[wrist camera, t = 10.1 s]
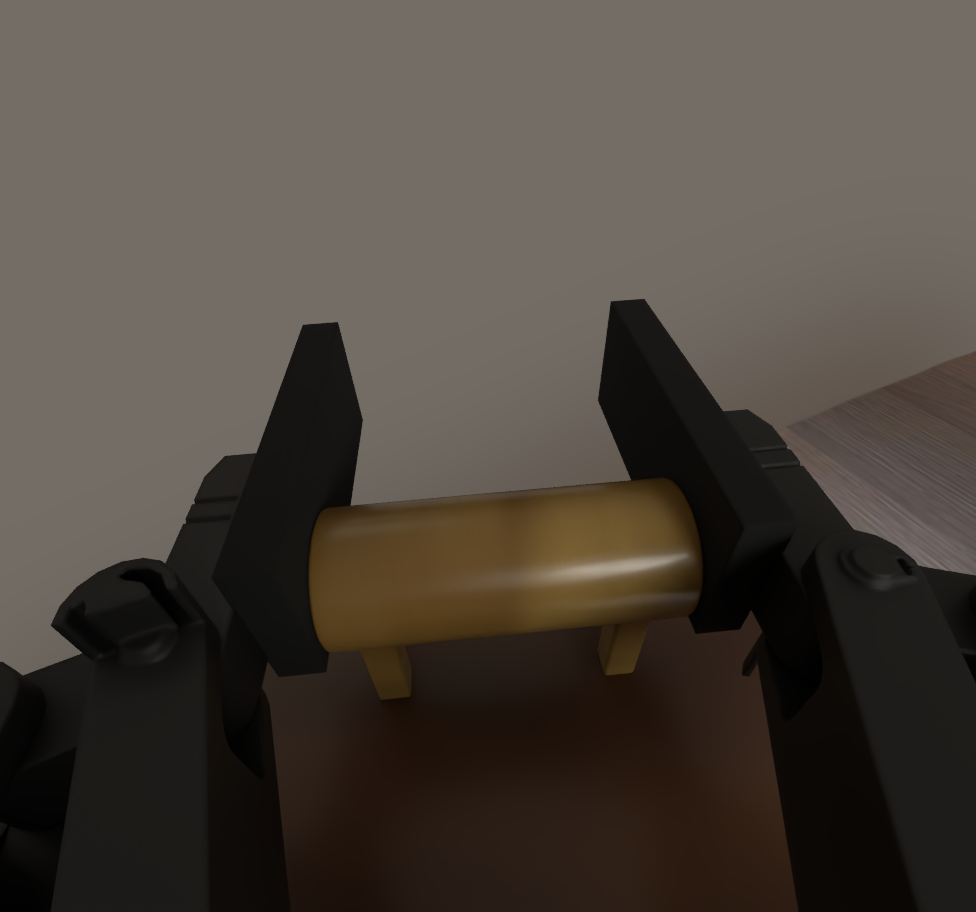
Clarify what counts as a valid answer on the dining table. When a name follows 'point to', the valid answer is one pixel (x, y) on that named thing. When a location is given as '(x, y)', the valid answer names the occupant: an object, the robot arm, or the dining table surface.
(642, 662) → the lid
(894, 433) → the dining table surface
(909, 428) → the dining table surface
